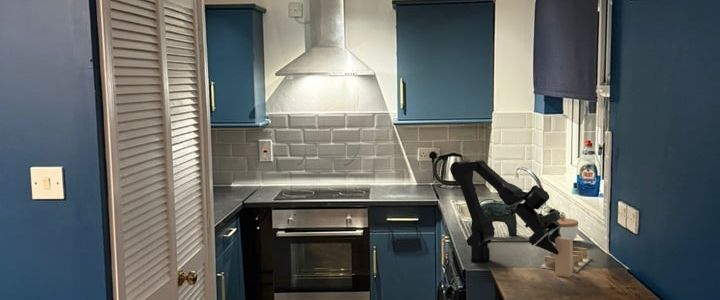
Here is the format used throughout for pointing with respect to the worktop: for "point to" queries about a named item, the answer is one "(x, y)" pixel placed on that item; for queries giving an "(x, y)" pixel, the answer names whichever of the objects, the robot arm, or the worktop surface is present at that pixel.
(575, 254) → the drying rack
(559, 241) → the tan rectangular block
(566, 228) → the lidded bowl
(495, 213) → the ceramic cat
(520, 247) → the worktop surface
